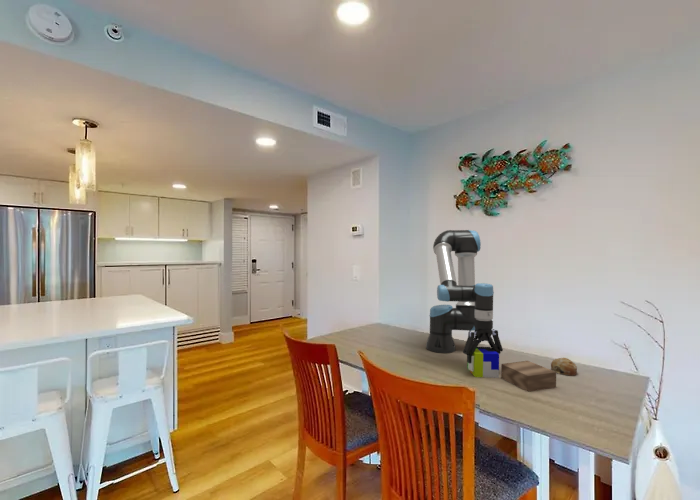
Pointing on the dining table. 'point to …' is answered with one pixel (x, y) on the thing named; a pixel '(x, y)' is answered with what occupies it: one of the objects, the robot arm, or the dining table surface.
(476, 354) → the puzzle toy
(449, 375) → the dining table surface
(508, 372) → the walnut plinth
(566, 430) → the dining table surface
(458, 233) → the robot arm
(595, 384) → the dining table surface
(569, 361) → the bread roll
